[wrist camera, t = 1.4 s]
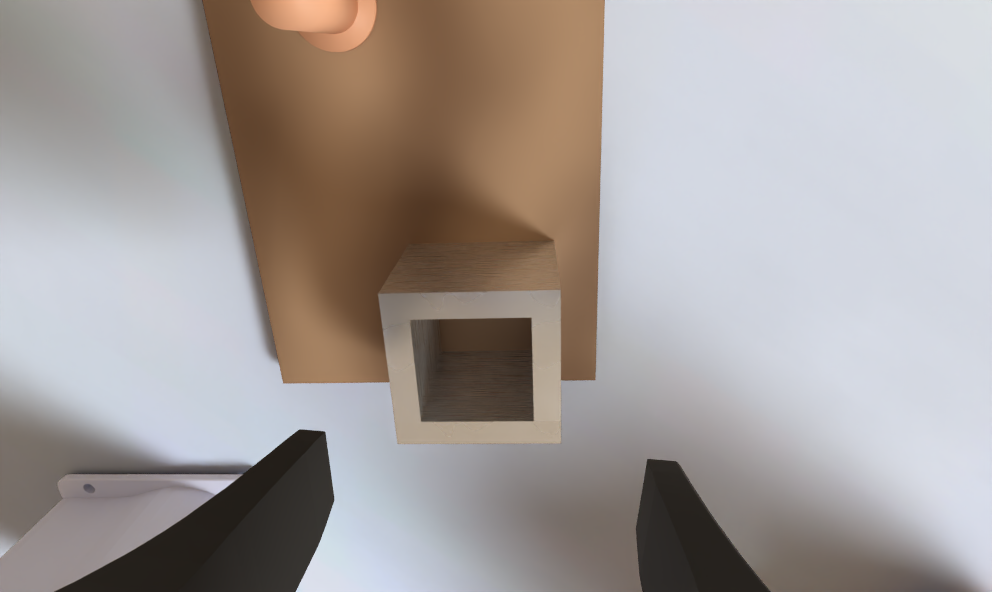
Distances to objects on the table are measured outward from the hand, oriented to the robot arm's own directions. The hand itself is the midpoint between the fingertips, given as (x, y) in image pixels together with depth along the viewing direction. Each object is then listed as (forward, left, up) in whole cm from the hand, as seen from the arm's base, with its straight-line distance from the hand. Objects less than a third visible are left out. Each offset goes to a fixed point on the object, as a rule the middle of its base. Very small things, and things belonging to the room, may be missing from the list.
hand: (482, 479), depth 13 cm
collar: (-1, 0, -9) cm, 9 cm away
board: (-2, +6, -10) cm, 12 cm away
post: (-5, +10, -10) cm, 15 cm away
